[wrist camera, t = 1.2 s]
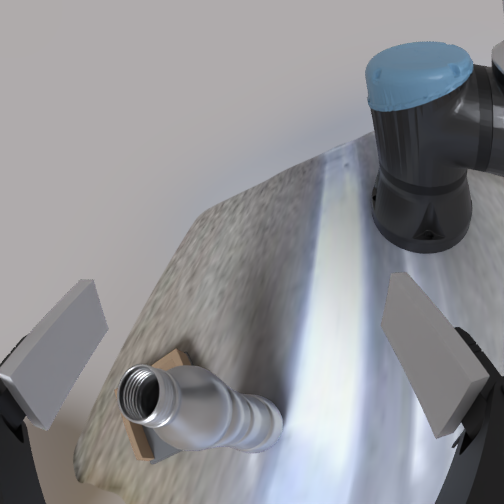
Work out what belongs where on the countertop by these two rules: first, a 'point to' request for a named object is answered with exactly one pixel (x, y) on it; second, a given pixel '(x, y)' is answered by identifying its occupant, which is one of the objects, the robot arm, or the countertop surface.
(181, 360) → the tray
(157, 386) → the silver metal bottle
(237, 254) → the countertop surface
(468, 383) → the robot arm
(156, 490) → the countertop surface
